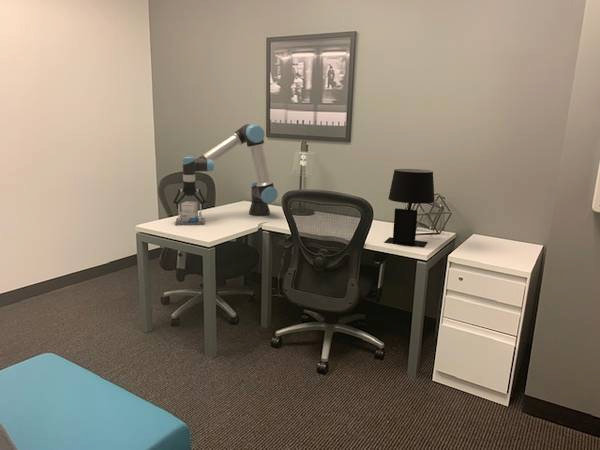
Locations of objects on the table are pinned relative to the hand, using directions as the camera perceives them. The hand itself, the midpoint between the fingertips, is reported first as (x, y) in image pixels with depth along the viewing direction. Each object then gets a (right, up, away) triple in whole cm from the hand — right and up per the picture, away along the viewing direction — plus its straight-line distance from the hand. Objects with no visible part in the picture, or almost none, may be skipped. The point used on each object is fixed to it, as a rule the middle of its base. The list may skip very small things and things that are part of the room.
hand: (190, 213), depth 292 cm
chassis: (0, -6, +1) cm, 6 cm away
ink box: (0, -4, +1) cm, 4 cm away
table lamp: (+133, -16, -32) cm, 138 cm away
